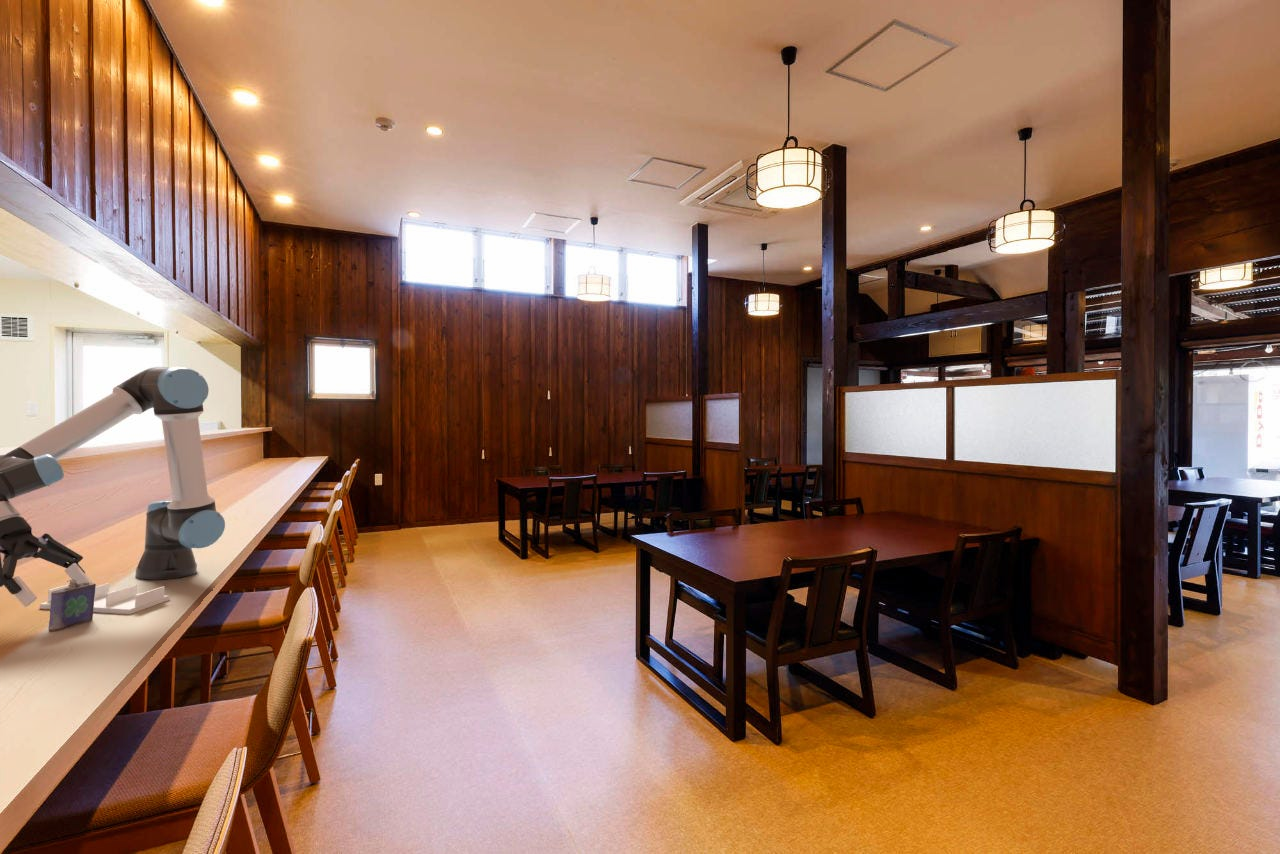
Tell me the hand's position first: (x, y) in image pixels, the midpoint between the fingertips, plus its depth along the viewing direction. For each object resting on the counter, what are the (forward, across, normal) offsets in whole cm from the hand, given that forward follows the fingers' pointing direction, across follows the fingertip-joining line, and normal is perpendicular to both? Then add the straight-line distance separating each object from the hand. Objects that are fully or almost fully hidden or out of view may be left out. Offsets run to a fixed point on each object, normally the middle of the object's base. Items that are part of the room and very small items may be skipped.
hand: (60, 594), depth 142 cm
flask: (+7, -1, -4) cm, 8 cm away
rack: (+3, -17, -8) cm, 19 cm away
